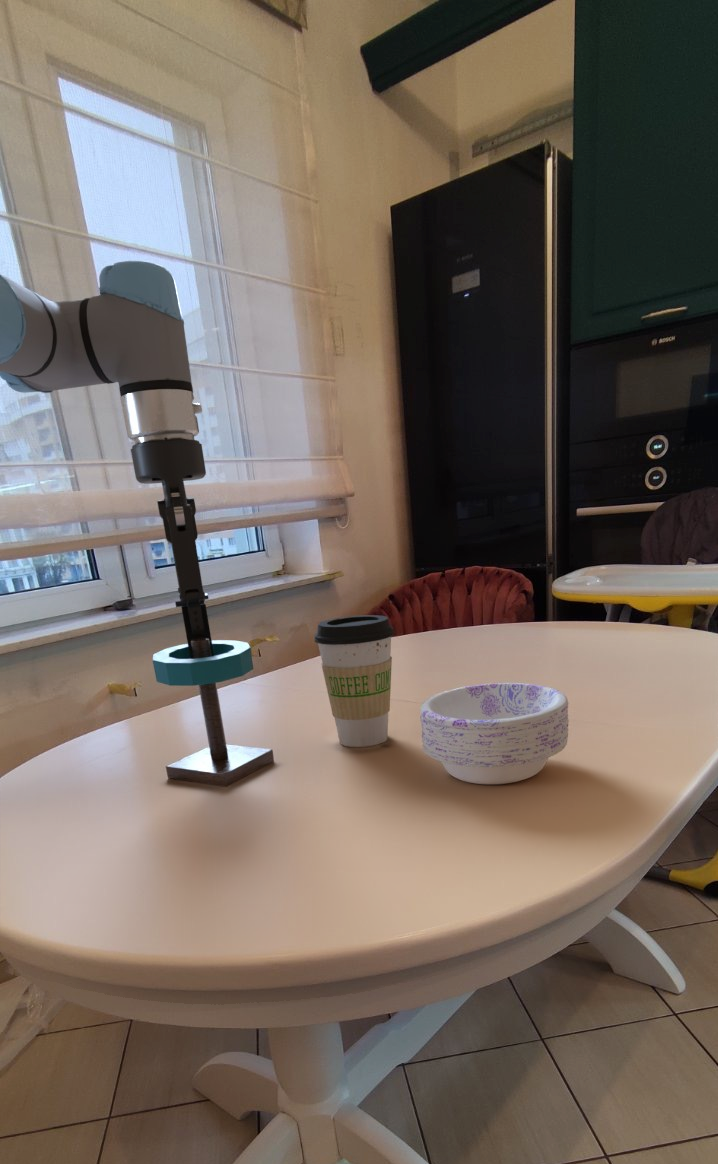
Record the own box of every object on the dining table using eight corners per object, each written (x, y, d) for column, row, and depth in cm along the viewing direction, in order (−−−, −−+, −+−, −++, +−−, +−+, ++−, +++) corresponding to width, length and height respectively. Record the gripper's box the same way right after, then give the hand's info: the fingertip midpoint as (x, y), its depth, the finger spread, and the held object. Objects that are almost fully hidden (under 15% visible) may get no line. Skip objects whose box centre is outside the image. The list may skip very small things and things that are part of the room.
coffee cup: (358, 756, 87) (346, 630, 81) (310, 742, 94) (296, 625, 88) (417, 736, 92) (410, 616, 87) (368, 724, 99) (358, 612, 94)
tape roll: (138, 685, 79) (133, 663, 78) (186, 661, 89) (182, 640, 88) (227, 686, 76) (223, 662, 75) (267, 660, 86) (264, 639, 85)
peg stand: (167, 778, 86) (141, 646, 80) (218, 754, 93) (197, 632, 87) (225, 786, 81) (202, 647, 75) (274, 760, 88) (256, 632, 82)
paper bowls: (408, 793, 74) (402, 718, 71) (441, 747, 87) (438, 682, 84) (561, 800, 69) (562, 719, 66) (572, 749, 82) (573, 680, 79)
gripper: (204, 429, 71) (240, 666, 80) (197, 445, 85) (228, 646, 94) (126, 435, 70) (171, 676, 78) (132, 450, 84) (169, 653, 93)
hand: (202, 659), depth 86 cm, fingers open, 2 cm apart
